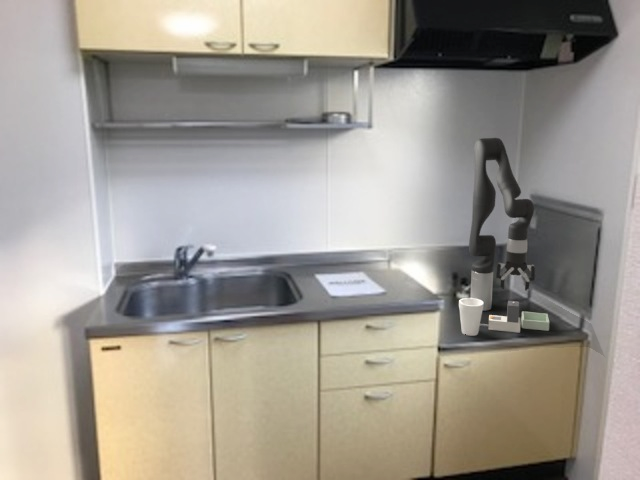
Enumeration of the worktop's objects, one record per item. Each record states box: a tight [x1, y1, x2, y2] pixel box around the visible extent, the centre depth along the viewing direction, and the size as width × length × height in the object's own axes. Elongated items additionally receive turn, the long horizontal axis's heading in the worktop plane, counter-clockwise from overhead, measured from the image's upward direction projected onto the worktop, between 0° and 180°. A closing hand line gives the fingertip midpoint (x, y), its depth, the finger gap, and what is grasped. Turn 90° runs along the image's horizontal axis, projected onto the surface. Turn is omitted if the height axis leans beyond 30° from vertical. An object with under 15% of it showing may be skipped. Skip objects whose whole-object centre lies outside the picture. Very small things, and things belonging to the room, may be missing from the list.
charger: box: [506, 300, 520, 323], centre depth 215 cm, size 6×4×9 cm
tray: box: [520, 311, 550, 332], centre depth 220 cm, size 10×10×4 cm
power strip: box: [479, 314, 522, 334], centre depth 218 cm, size 6×18×4 cm, turn 72°
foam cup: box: [458, 297, 484, 337], centre depth 213 cm, size 10×9×13 cm
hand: (514, 289), depth 212 cm, fingers open, 8 cm apart
